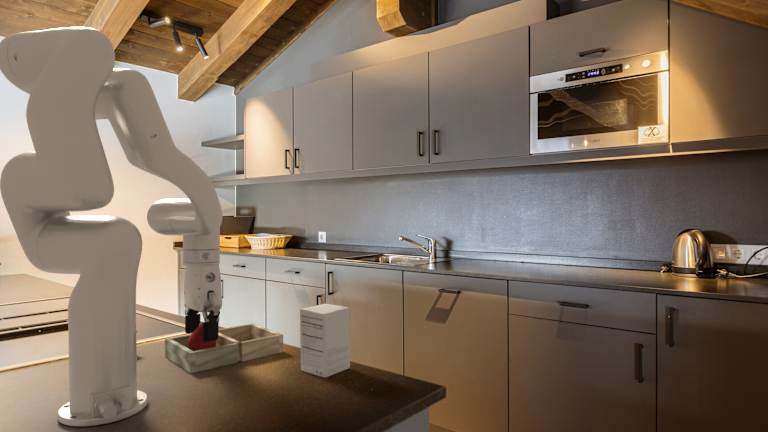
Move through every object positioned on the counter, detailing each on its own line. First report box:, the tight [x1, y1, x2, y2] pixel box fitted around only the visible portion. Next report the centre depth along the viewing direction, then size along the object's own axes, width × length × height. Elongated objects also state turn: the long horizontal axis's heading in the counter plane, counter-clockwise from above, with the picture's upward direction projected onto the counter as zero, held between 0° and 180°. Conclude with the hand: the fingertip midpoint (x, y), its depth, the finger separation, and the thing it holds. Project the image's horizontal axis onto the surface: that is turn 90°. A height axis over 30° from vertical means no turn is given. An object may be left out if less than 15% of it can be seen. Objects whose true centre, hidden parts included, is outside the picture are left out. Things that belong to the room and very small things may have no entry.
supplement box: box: [299, 303, 351, 379], centre depth 98 cm, size 7×7×13 cm
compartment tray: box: [164, 322, 284, 374], centre depth 109 cm, size 15×21×4 cm
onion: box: [188, 322, 216, 351], centre depth 105 cm, size 6×6×8 cm
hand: (201, 336), depth 105 cm, fingers open, 9 cm apart
